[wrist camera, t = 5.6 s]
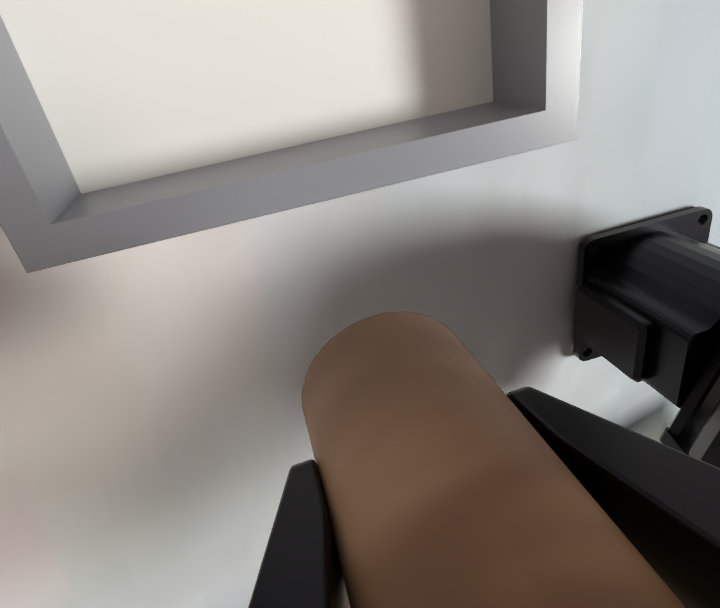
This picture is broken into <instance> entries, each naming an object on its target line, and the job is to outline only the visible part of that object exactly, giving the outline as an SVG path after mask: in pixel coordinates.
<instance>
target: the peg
mask: <svg viewBox="0 0 720 608" xmlns="http://www.w3.org/2000/svg"><path fill="white" fill-rule="evenodd" d="M302 407H303V411H304V416H305V420H306V424H307V428H308V432H309V436H310V441H311V445H312V449H313V453H314V457H315V461H316V464H317V467H318V471H319V475H320V480H321V484H322V488H323V492H324V496H325V500H326V504H327V509H328V513H329V517H330V521H331V525H332V530H333V534H334V539H335V544H336V549H337V553H338V557H339V562H340V566H341V570H342V574H343V578H344V583H345V587H346V591H347V595H348V599H349V603H350V608H686V607H685V606H684V605H683V604H682V602H681V601H680V600H679V599H678V598H677V596H676V595H675V594H674V593H673V592H672V591H671V589H670V588H669V587H668V586H667V585H666V583H665V582H664V581H663V580H662V579H661V578H660V576H659V575H658V574H657V573H656V572H655V570H654V569H653V568H652V567H651V566H650V565H649V563H648V562H647V561H646V560H645V559H644V557H643V556H642V555H641V554H640V553H639V552H638V550H637V549H636V548H635V547H634V546H633V544H632V543H631V542H630V541H629V540H628V539H627V537H626V536H625V535H624V534H623V533H622V531H621V530H620V529H619V528H618V527H617V526H616V524H615V523H614V522H613V521H612V520H611V518H610V517H609V516H608V515H607V514H606V513H605V511H604V510H603V509H602V508H601V507H600V505H599V504H598V503H597V502H596V501H595V500H594V498H593V497H592V496H591V495H590V494H589V492H588V491H587V490H586V489H585V488H584V487H583V485H582V484H581V483H580V482H579V481H578V479H577V478H576V477H575V476H574V475H573V474H572V472H571V471H570V470H569V469H568V468H567V466H566V465H565V464H564V463H563V462H562V461H561V459H560V458H559V457H558V456H557V455H556V453H555V452H554V451H553V450H552V449H551V448H550V446H549V445H548V444H547V443H546V442H545V440H544V439H543V438H542V437H541V436H540V435H539V433H538V432H537V431H536V430H535V429H534V427H533V426H532V425H531V424H530V423H529V422H528V420H527V419H526V418H525V417H524V416H523V414H522V413H521V412H520V411H519V410H518V409H517V407H516V406H515V405H514V404H513V403H512V401H511V400H510V399H509V398H508V397H507V396H506V394H505V393H504V392H503V391H502V390H501V388H500V387H499V386H498V385H497V384H496V383H495V381H494V380H493V379H492V378H491V377H490V375H489V374H488V373H487V372H486V371H485V370H484V368H483V367H482V366H481V365H480V364H479V362H478V361H477V360H476V359H475V358H474V357H473V355H472V354H471V353H470V352H469V351H468V349H467V348H466V347H465V346H464V345H463V344H462V342H461V341H460V340H459V339H458V338H457V336H456V335H455V334H454V333H453V332H452V331H451V330H450V329H449V328H448V327H447V326H446V325H444V324H443V323H441V322H439V321H438V320H436V319H433V318H431V317H429V316H426V315H422V314H418V313H411V312H391V313H383V314H379V315H375V316H371V317H369V318H366V319H363V320H361V321H359V322H357V323H355V324H353V325H351V326H349V327H347V328H346V329H344V330H343V331H341V332H340V333H338V334H337V335H336V336H335V337H333V338H332V339H331V340H330V341H329V342H328V343H327V344H326V345H325V346H324V347H323V348H322V349H321V350H320V352H319V353H318V354H317V356H316V357H315V359H314V360H313V362H312V364H311V365H310V367H309V369H308V372H307V374H306V377H305V380H304V384H303V390H302Z"/></svg>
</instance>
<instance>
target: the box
mask: <svg viewBox="0 0 720 608" xmlns="http://www.w3.org/2000/svg"><path fill="white" fill-rule="evenodd" d="M582 13H583V0H0V225H1V227H2V228H3V230H4V232H5V234H6V236H7V237H8V239H9V241H10V243H11V245H12V246H13V248H14V250H15V252H16V254H17V255H18V257H19V259H20V261H21V263H22V265H23V266H24V268H25V270H26V272H27V273H29V272H33V271H37V270H41V269H45V268H50V267H54V266H58V265H62V264H66V263H70V262H74V261H78V260H83V259H87V258H91V257H95V256H99V255H103V254H107V253H111V252H116V251H120V250H124V249H128V248H132V247H136V246H140V245H144V244H149V243H153V242H157V241H161V240H165V239H169V238H173V237H177V236H182V235H186V234H190V233H194V232H198V231H202V230H206V229H211V228H215V227H219V226H223V225H227V224H231V223H235V222H239V221H244V220H248V219H252V218H256V217H260V216H264V215H268V214H272V213H277V212H281V211H285V210H289V209H293V208H297V207H301V206H305V205H310V204H314V203H318V202H322V201H326V200H330V199H334V198H338V197H343V196H347V195H351V194H355V193H359V192H363V191H367V190H371V189H376V188H380V187H384V186H388V185H392V184H396V183H400V182H404V181H409V180H413V179H417V178H421V177H425V176H429V175H433V174H437V173H442V172H446V171H450V170H454V169H458V168H462V167H466V166H470V165H475V164H479V163H483V162H487V161H491V160H495V159H499V158H503V157H508V156H512V155H516V154H520V153H524V152H528V151H532V150H536V149H541V148H545V147H549V146H553V145H557V144H561V143H565V142H569V141H574V140H577V126H578V103H579V81H580V58H581V35H582Z"/></svg>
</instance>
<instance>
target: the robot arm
mask: <svg viewBox="0 0 720 608" xmlns="http://www.w3.org/2000/svg"><path fill="white" fill-rule="evenodd" d="M711 221H712V212H711V210H709V209H707V208H704V207H694V208H691V209H687V210H683V211H680V212H676V213H673V214H669V215H665V216H662V217H658V218H654V219H651V220H647V221H643V222H640V223H636V224H632V225H629V226H625V227H621V228H618V229H614V230H610V231H607V232H603V233H599V234H596V235H592V236H589V237H587V238H585V239H584V240H583V241H582V242H581V244H580V245H579V249H578V268H577V288H576V295H575V315H574V347H573V352H574V355H575V356H576V357H578V358H579V359H580V360H582V361H587V360H590V359H594V358H597V357H600V356H603V357H604V358H605V359H607V360H608V361H609V362H610V363H612V364H613V365H614V366H616V367H617V368H618V369H619V370H621V371H622V372H623V373H624V374H626V375H627V376H628V377H629V378H631V379H632V380H634V381H636V382H640V381H645V382H646V383H647V384H649V385H650V386H651V387H652V388H654V389H655V390H656V391H658V392H659V393H660V394H662V395H663V396H664V397H665V398H667V399H668V400H669V401H671V402H672V403H673V404H675V405H676V406H677V407H679V408H680V410H679V411H678V413H677V415H676V416H675V418H674V420H673V421H672V423H671V425H670V426H669V427H666V428H665V430H664V432H663V433H662V435H661V437H660V438H659V439H660V441H661V442H662V443H659V442H657V441H655V440H652V439H650V438H648V437H645V436H643V435H641V434H638V433H636V432H634V431H631V430H629V429H627V428H624V427H622V426H620V425H617V424H615V423H613V422H610V421H608V420H606V419H603V418H601V417H599V416H596V415H594V414H592V413H589V412H587V411H585V410H582V409H580V408H578V407H576V406H573V405H571V404H569V403H566V402H564V401H562V400H559V399H557V398H555V397H552V396H550V395H548V394H545V393H543V392H541V391H538V390H536V389H534V388H531V387H523V388H520V389H517V390H514V391H511V392H509V393H508V394H507V395H506V396H507V397H508V398H509V399H510V400H511V401H512V403H513V404H514V405H515V406H516V407H517V409H518V410H519V411H520V412H521V413H522V414H523V416H524V417H525V418H526V419H527V420H528V422H529V423H530V424H531V425H532V426H533V427H534V429H535V430H536V431H537V432H538V433H539V435H540V436H541V437H542V438H543V439H544V440H545V442H546V443H547V444H548V445H549V446H550V448H551V449H552V450H553V451H554V452H555V453H556V455H557V456H558V457H559V458H560V459H561V461H562V462H563V463H564V464H565V465H566V466H567V468H568V469H569V470H570V471H571V472H572V474H573V475H574V476H575V477H576V478H577V479H578V481H579V482H580V483H581V484H582V485H583V487H584V488H585V489H586V490H587V491H588V492H589V494H590V495H591V496H592V497H593V498H594V500H595V501H596V502H597V503H598V504H599V505H600V507H601V508H602V509H603V510H604V511H605V513H606V514H607V515H608V516H609V517H610V518H611V520H612V521H613V522H614V523H615V524H616V526H617V527H618V528H619V529H620V530H621V531H622V533H623V534H624V535H625V536H626V537H627V539H628V540H629V541H630V542H631V543H632V544H633V546H634V547H635V548H636V549H637V550H638V552H639V553H640V554H641V555H642V556H643V557H644V559H645V560H646V561H647V562H648V563H649V565H650V566H651V567H652V568H653V569H654V570H655V572H656V573H657V574H658V575H659V576H660V578H661V579H662V580H663V581H664V582H665V583H666V585H667V586H668V587H669V588H670V589H671V591H672V592H673V593H674V594H675V595H676V596H677V598H678V599H679V600H680V601H681V602H682V604H683V605H684V606H685V607H686V608H720V247H718V246H715V245H713V244H710V243H708V237H709V232H710V227H711ZM593 245H594V246H593ZM592 246H593V249H592V250H591V251H589V250H590V248H591V247H592ZM585 349H586V350H585ZM584 350H585V351H584ZM248 608H350V603H349V599H348V595H347V591H346V587H345V583H344V578H343V574H342V570H341V566H340V562H339V557H338V553H337V549H336V544H335V539H334V534H333V530H332V525H331V521H330V517H329V513H328V509H327V504H326V500H325V496H324V492H323V488H322V484H321V480H320V475H319V471H318V467H317V464H316V462H315V461H314V460H312V459H311V460H307V461H304V462H302V463H299V464H296V465H293V466H292V467H291V468H290V471H289V474H288V477H287V481H286V484H285V487H284V491H283V494H282V497H281V501H280V504H279V507H278V511H277V514H276V517H275V521H274V524H273V527H272V531H271V534H270V537H269V540H268V544H267V547H266V550H265V554H264V557H263V560H262V564H261V567H260V570H259V574H258V577H257V580H256V584H255V587H254V590H253V594H252V597H251V600H250V604H249V607H248Z"/></svg>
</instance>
